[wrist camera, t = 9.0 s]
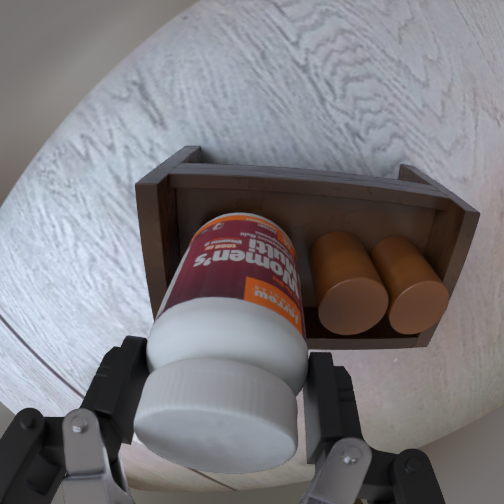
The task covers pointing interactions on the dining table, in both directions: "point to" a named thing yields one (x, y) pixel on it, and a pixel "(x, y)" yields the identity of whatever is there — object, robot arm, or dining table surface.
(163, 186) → the spice rack
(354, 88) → the dining table surface
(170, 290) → the pill bottle
